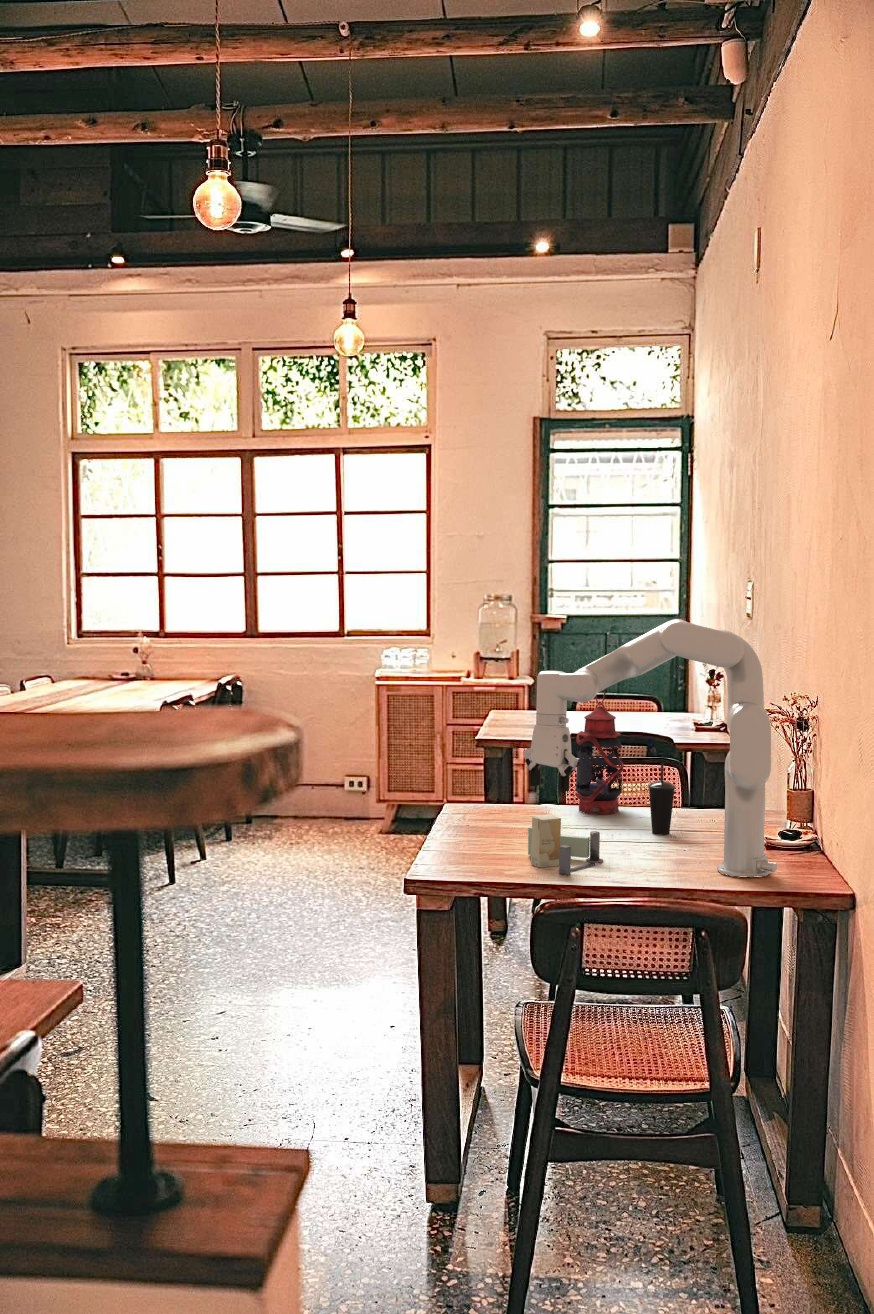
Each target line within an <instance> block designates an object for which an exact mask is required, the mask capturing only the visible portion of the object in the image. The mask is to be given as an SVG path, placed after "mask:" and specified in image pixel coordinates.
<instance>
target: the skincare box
mask: <svg viewBox="0 0 874 1314" xmlns="http://www.w3.org/2000/svg"><path fill="white" fill-rule="evenodd" d="M531 819H532V820H531V821H532V823H531V826H532V844H531V855H530V865H532V866H534V867H537V868H539V867H541V868H549V867H559V846H560V836H561V834H562V833H561V831H562V829H561V828H562V827H561V825H562V818H561V817H558V816H556V815H551V814H550V815H538V816H532V817H531Z"/></svg>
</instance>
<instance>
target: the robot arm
mask: <svg viewBox="0 0 874 1314" xmlns="http://www.w3.org/2000/svg"><path fill="white" fill-rule="evenodd" d="M676 657H680V658H683V659H687V660H690V661H695V662H699V663H702V664H706V665H711V666H715V667H719V668H722V669H724V672H725V676H726V687H727V689H726V690H727V713H726V725H727V728H728V730H729V750H728V753H727V755H726V757H725V761H724V783H725V784H724V786H725V787H724V788H725V789H724V790H725V793H724V794H725V795H724V830H723V831H724V834H723V835H724V836H723V839H724V841H723V843H724V844H723V862H722V863H719V864H717V866H716V871H717V872H718V871H719V872H720V873H719V872H718V873H719V874H721V873H723V874H722V875H724V874H727V875H726V876H728V875H731V876H730V877H733V876H747V877H754V876H765V877H767V876H766V875H768V874H769V875H770V874H771V873H775V872H776V871H777V868H778V863H777V862H772V861H769V860H768V859H769V857H768V855H766V854H764V852H765V824H766V823H765V821H766V820H765V816H766V783H767V781H768V780H769V778H770V776H771V770H772V726H771V720H770V716H769V715H768V713H767V711H766V709H765V698H764V693H765V692H764V678H763V669H762V665H761V662H760V658H759V656H758V654H757V652H756V651H755V650H754V648H753V647H752V646H751V645H750V644H749V643H748V642H747V641H746V640H745V639H744V638H742V637H741V636H739V635H737V634H736V633H734V632H732V631H729V630H726V629H725V630H724V629H720V630H719V629H714V628H711V627H707V626H702V625H699V624H694V623H691V622H688V621H686V620H684V619H681V618H674V619H671V620H668V621H666V622H664V623H662V624H660V625H658V626H657V627H655V628H653V629H651V630H649V631H648V632H645V633H644V634H642V635H640V636H638V637H636V638H634V639H632V640H630V641H628V642H627V643H625V644H622V645H621V646H619V647H618V648H616V649H615V650H613V651H611V652H610V653H608V654H606V655H603V656H602V657H600V658H598V659H596V660H594V661H592V662H591V663H589V664H587V665H585V666H583V667H581V668H579V669H577V670H576V671H574V672H572V673H570V672H569V673H566V672H564V671H560V670H541V671H540V672H539V673H538V674H537V677H536V678H537V679H536V708H535V709H536V713H535V714H536V715H535V719H536V720H535V724H534V726H533V731H532V736H531V745H530V747H528V748H527V749H525V750H523V752H522V753H523V757H524V759H525V760H524V761H525V764H526V765H527V769H528V770H529V787H535V786H540V785H541V769H539V768H540V767H541V766H545V767H551V768H557V770H558V772H559V773H560V775H559V777H558V791H559V792H560V793H565V792H569V791H570V780H571V779H570V777H571V775H572V774H573V772H575V770H576V768H577V765H578V764H579V761H578V757H577V756H576V757H575V756H574V755H573V754H572V739H571V732H570V729H569V726H567V724H568V723H569V721H570V720H569V718H568V717H567V713H568V712H567V711H568V709H567V707H568V701H570V702H575V703H588V702H591V701H592V700H594V699H595V696H596V695H597V694H598V693H600V692H602V691H604V690H605V689H606V690H607V689H608V688H609V687H612V686H613V685H615V684H618V683H620V682H622V681H624V680H627V679H631V678H632V679H633V678H636V677H639V676H641V675H644V674H646V673H647V672H649V671H652V670H653V669H655V668H656V667H657V668H658V666H660V665H663V664H664V663H666V662H668V661H670V660H672V659H673V658H676ZM769 875H768V876H769Z"/></svg>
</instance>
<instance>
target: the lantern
mask: <svg viewBox="0 0 874 1314" xmlns="http://www.w3.org/2000/svg"><path fill="white" fill-rule="evenodd" d="M603 691H604V693H603V697H602V700H601V702H599V700H598V695H597V694H596V696H595V697H594V699H595V700H596V701H595V702H596V703H597V704H596V705H595V706H594V710H592V711H591V712H590V713H589V714H587V715H585V716H584V717H583V718H584V720H585V721H584V731H583V730H581V731H578V733H577V735H576V744H577V751H576V753H577V755H576V758H577V759H578V764H577V765H576V776H575V777H576V779H575V790H576V795H575V796H576V798H577V800H579V804H578V812H580V811H582V812H581V813H583V812H584V813H583V814H586V813H587V814H588V815H601V816H607V815H615V814H616V813H617V812H618V811H619V801H618V800H619V796H621V794H622V792H623V775H622V773H623V772H624V771H625V769H624V767H625V766H624V764H625V763H623V760H622V759H623V758H622V757H623V755H622V754H621V753H620V750H622V748H623V746H622V743H621V741H620V739H619V736H621V732H618V731H616V723H615V722H616V721H615V720H616V718H617V717H616V716H615V715H613V714H612V713H610V712H609V711H608V710H607V709H606V708H605V707H606V706H605V705H604V700H605V697H606V693H607V692H606V691H607V688H606V689H604V690H603ZM594 748H595V751H596V750H597V751H598V753H595V752H594ZM604 750H605V751H607V754H606V753H605V751H604ZM593 753H594V754H593ZM594 755H595V756H594ZM605 770H606V775H605V776H607V778H606V780H605V776H604V772H603V771H605ZM614 783H616V785H617V784H618V785H617V786H618V787H616V786H614V787H612V785H613V784H614Z"/></svg>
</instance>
